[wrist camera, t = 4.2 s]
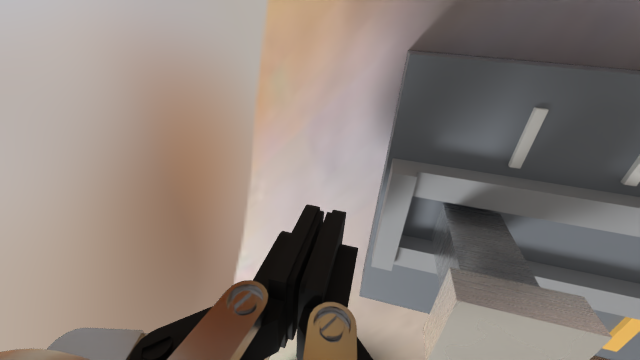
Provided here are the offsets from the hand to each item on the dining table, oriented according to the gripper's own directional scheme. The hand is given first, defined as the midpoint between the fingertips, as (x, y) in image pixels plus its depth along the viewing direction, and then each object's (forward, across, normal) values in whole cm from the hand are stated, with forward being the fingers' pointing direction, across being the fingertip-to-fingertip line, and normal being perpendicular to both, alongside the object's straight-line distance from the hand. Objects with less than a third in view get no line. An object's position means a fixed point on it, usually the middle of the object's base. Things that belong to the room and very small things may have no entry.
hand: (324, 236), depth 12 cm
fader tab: (+3, -6, 0) cm, 7 cm away
